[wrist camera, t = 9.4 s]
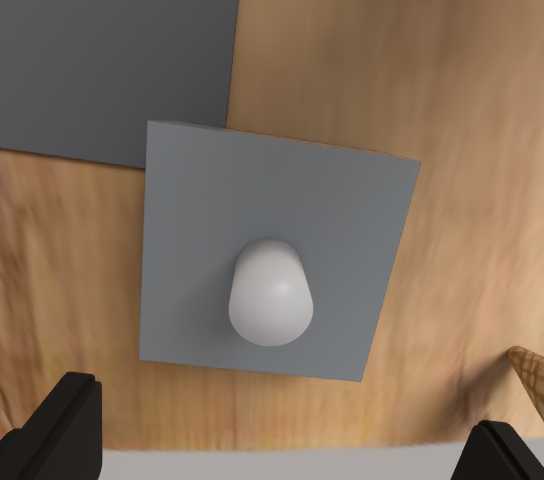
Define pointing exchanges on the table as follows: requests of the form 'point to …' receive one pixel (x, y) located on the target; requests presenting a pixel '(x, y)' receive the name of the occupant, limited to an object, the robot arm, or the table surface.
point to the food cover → (266, 250)
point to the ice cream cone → (530, 374)
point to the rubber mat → (110, 73)
